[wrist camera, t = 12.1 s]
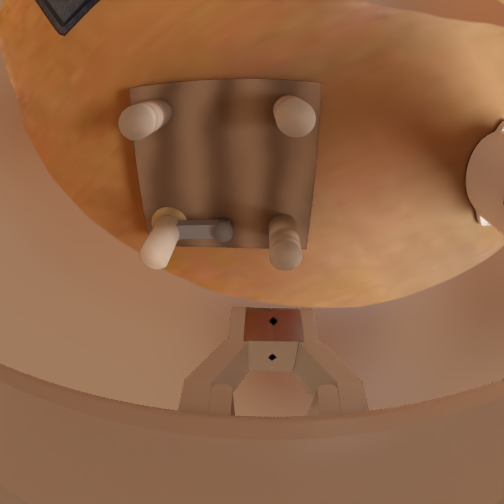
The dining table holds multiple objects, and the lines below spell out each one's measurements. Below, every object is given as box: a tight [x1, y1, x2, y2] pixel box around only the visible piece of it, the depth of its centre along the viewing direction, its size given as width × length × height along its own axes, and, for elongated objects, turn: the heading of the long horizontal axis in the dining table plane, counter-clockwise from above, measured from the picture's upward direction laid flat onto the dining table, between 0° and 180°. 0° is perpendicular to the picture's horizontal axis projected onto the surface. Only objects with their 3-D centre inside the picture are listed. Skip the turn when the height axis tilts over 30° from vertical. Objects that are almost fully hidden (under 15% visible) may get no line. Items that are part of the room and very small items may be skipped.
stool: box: [118, 79, 322, 270], centre depth 33 cm, size 22×22×10 cm
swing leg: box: [139, 216, 234, 270], centre depth 36 cm, size 10×4×7 cm, turn 91°
